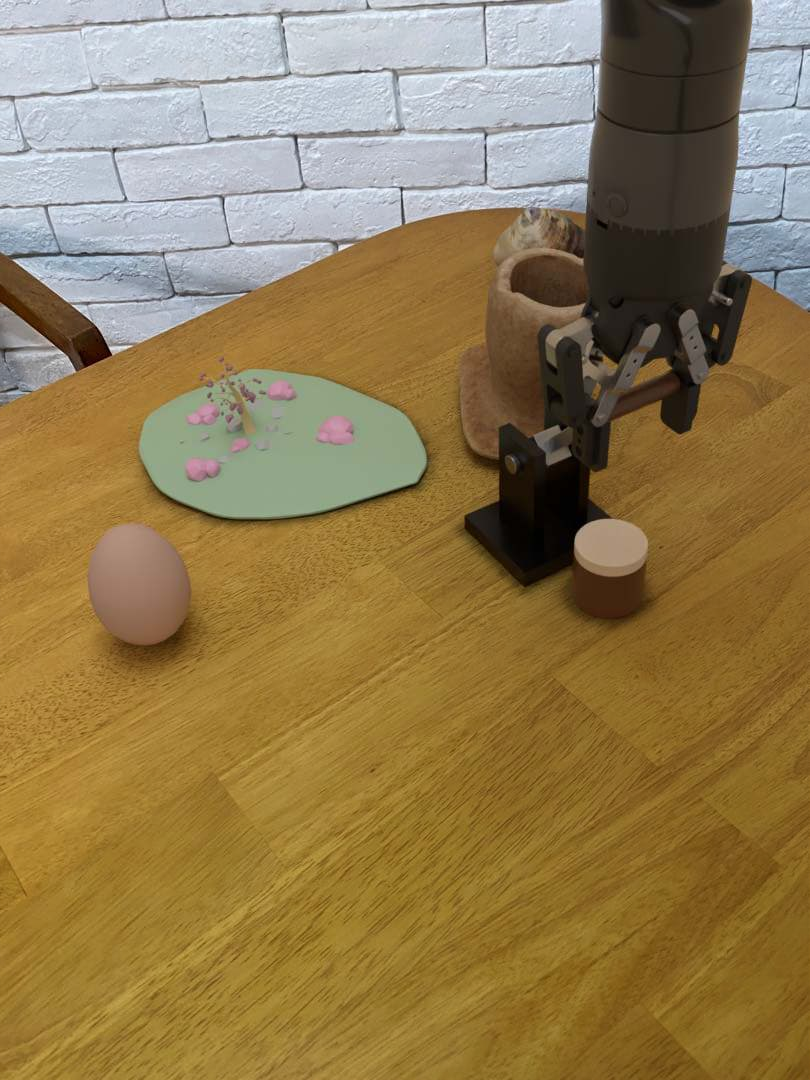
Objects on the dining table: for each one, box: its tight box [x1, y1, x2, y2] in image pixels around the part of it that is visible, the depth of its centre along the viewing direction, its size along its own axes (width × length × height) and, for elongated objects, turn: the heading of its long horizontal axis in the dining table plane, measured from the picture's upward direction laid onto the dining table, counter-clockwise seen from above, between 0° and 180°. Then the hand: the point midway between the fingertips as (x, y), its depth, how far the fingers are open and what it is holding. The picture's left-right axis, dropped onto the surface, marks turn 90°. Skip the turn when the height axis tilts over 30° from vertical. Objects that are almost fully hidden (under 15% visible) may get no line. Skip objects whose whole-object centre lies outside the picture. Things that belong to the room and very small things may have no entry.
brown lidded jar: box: [571, 518, 649, 619], centre depth 79 cm, size 5×5×5 cm
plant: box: [138, 356, 428, 520], centre depth 94 cm, size 25×21×9 cm
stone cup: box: [458, 248, 589, 461], centre depth 93 cm, size 15×12×15 cm
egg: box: [86, 522, 192, 646], centre depth 77 cm, size 7×7×10 cm
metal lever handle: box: [529, 370, 681, 468], centre depth 75 cm, size 15×6×2 cm
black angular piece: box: [463, 408, 614, 588], centre depth 83 cm, size 8×9×10 cm
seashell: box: [493, 206, 585, 267], centre depth 113 cm, size 10×6×8 cm, turn 89°
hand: (633, 444), depth 71 cm, fingers closed on metal lever handle, 6 cm apart
